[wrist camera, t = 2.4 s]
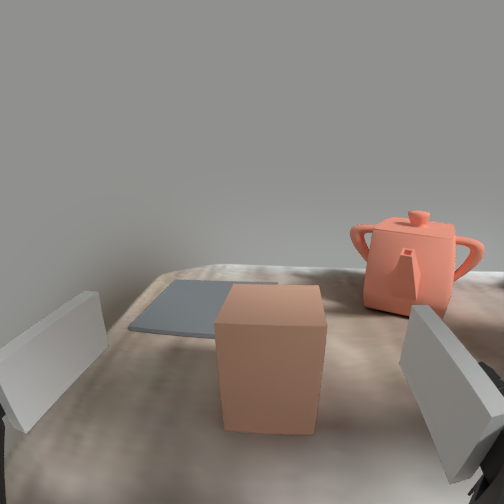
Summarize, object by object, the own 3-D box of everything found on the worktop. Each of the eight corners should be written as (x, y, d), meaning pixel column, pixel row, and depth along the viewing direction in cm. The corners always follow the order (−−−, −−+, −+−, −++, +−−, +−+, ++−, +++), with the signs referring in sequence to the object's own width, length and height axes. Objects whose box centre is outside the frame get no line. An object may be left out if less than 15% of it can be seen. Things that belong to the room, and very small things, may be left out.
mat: (277, 285, 53) (277, 282, 53) (270, 341, 36) (270, 336, 35) (175, 282, 55) (175, 279, 55) (129, 330, 38) (128, 326, 38)
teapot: (360, 275, 57) (364, 200, 53) (472, 294, 44) (483, 214, 40) (314, 316, 41) (318, 213, 38) (473, 351, 29) (499, 235, 25)
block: (311, 382, 28) (318, 285, 25) (313, 434, 21) (327, 326, 19) (238, 379, 29) (233, 283, 26) (224, 430, 22) (213, 322, 19)
